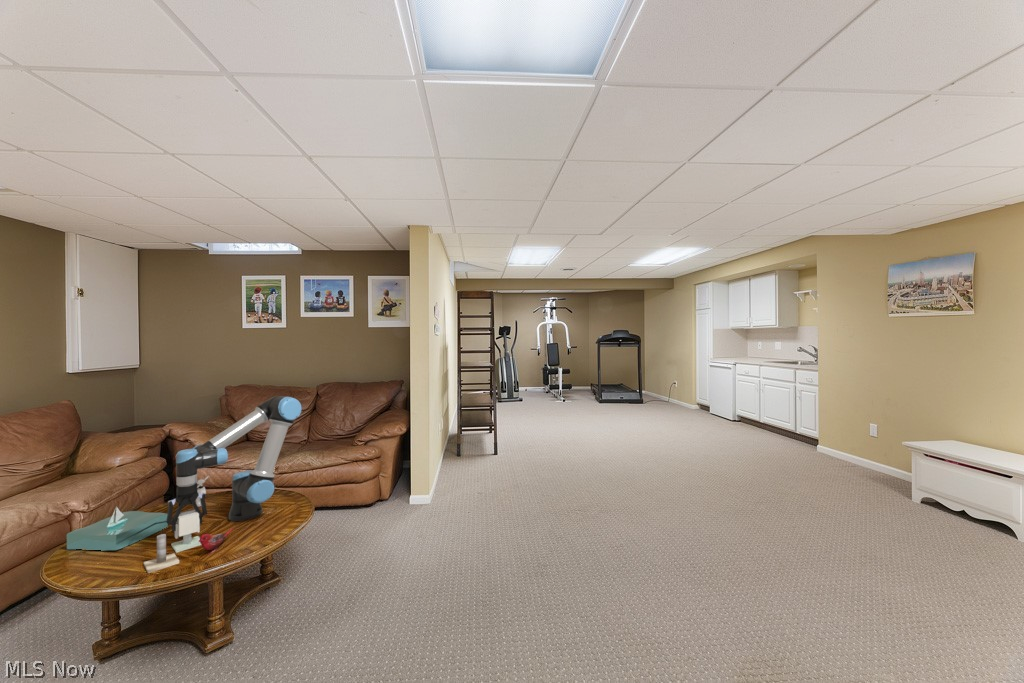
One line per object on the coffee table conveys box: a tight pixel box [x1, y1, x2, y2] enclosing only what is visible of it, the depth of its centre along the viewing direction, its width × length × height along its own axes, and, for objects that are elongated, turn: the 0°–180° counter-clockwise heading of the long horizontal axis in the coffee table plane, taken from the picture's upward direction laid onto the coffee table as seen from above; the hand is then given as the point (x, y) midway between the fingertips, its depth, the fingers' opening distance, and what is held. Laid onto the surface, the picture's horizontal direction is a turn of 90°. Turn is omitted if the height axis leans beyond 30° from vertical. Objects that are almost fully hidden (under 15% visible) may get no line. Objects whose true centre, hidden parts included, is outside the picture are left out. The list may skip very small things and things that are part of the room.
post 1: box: [143, 533, 180, 574], centre depth 177 cm, size 10×10×12 cm
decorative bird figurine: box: [199, 527, 235, 555], centre depth 188 cm, size 3×18×10 cm, turn 167°
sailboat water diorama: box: [66, 505, 169, 552], centre depth 201 cm, size 25×25×16 cm
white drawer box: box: [177, 509, 199, 538], centre depth 193 cm, size 7×7×9 cm
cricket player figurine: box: [195, 475, 210, 508], centre depth 239 cm, size 13×10×15 cm
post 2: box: [171, 533, 202, 554], centre depth 193 cm, size 10×10×12 cm
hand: (187, 534), depth 193 cm, fingers closed on white drawer box, 7 cm apart
